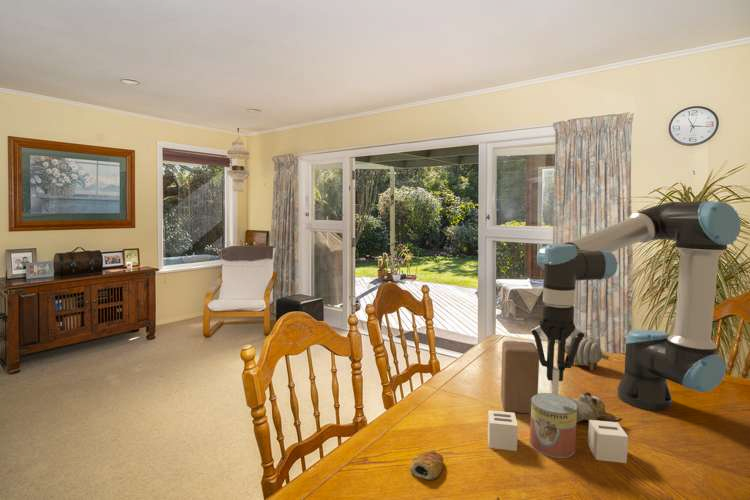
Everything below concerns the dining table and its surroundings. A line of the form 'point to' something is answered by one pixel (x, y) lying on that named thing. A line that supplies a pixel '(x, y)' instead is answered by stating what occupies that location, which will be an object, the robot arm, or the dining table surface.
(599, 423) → the marked cube 2
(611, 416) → the ceramic sculpture
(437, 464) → the pastry
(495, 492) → the dining table surface
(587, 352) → the grey armadillo figurine
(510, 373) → the block
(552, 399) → the canned food
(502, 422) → the marked cube 1
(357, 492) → the dining table surface
